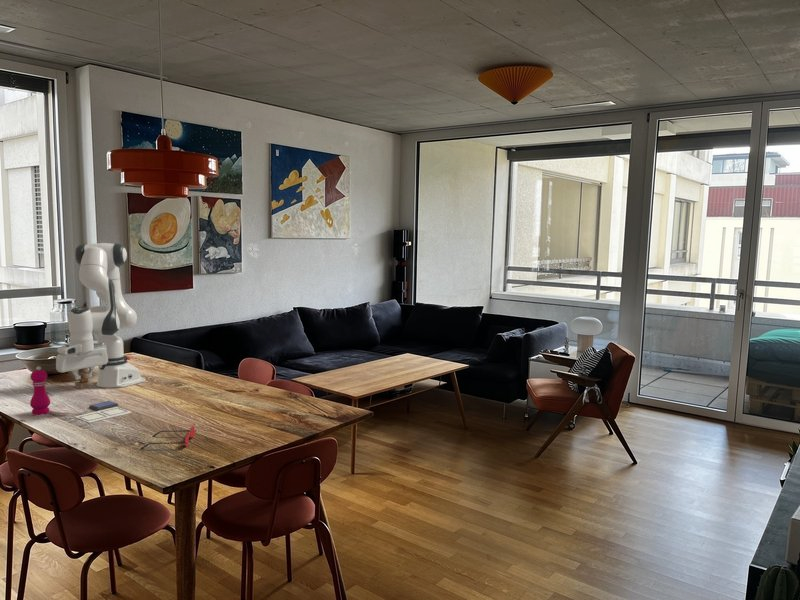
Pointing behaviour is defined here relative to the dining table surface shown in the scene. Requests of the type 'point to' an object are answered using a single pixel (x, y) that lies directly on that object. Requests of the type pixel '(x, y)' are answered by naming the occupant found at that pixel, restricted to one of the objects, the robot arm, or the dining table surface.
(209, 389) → the dining table surface
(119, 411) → the print card
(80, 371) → the stamp
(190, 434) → the glasses
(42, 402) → the pepper mill
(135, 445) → the dining table surface
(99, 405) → the ink pad
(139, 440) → the dining table surface
